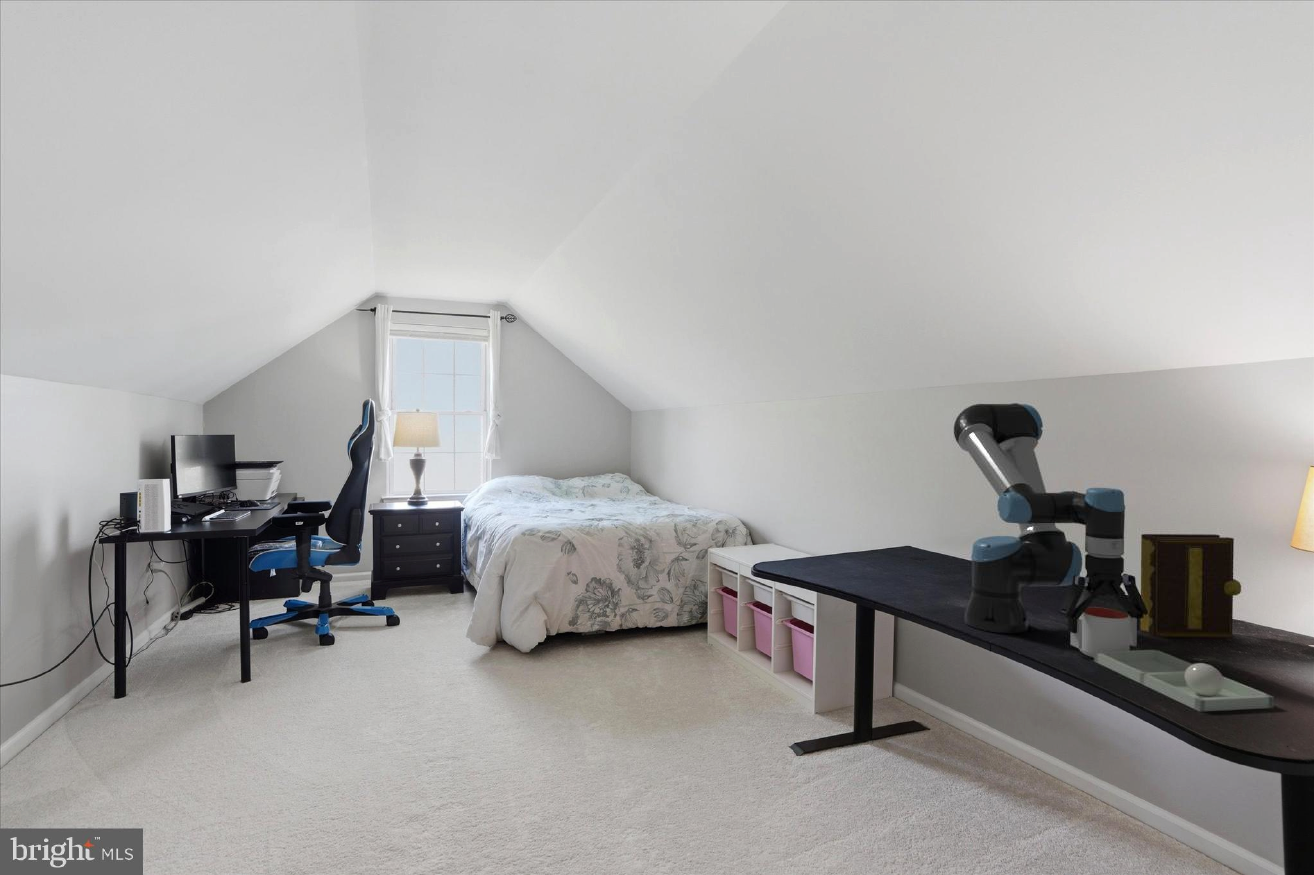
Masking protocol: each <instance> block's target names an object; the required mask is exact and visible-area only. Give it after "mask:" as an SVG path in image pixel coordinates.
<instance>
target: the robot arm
mask: <svg viewBox="0 0 1314 875" xmlns="http://www.w3.org/2000/svg"><path fill="white" fill-rule="evenodd" d="M1043 427H1044V426H1043V420H1042V417H1041V414H1040V413H1039V412H1038V410H1037V408H1036V407H1033V406H1032V405H1029V404H1027V403H1025V404H1024V403H1018V402H1015V403H977V404H973V405H970V406H968V407H966V408H964V409H963V410H962V411H961V412H960V413H959V414H958V416H957V417H956V419H955V421H954V425H953V435H954V436H953V437H954V439H955V441H956V443H957V444H958V446H959V448H961V450H963V451H965V452H968V454H969V456H970V457H971V458H972V459H973V461H974V463H975V465H977V467H978V468H979V469H980V471H981V473H982V474H983V475H984V477H985V478H986V479H987V481H988V483H989V484H990V486H991V487H992V488H993V490H994V491H995V493H996V495H997V496H998V497H999V498H998V499H997V512H998V515H999V518H1000V519H1001V520H1002V521H1003V522H1005V523H1009V524H1018V525H1019V530H1020V534H1019V535H1018V536H1017V537H1016V536H1012V535H994V536H987V537H986V536H985V537H982V538H979V539H977V540H975V541H974V542H973V543H972V551H971V596H970V599H969V601H968V603H967V606H966V609H965V611H964V623H965V624H966V625H968V626H969V627H972V628H974V629H975V628H976V629H978V630H982V631H985V632H993V633H1000V634H1017V633H1023V632H1026V631H1028V629H1029V620H1028V617H1027V614H1026V611H1025V608H1024V605H1023V602H1022V599H1021V598H1022V597H1021V590H1022V588H1021V587H1054V588H1057V587H1060V586H1061V587H1063V586H1064V587H1065V586H1067V587H1068V586H1071V587H1070V588H1069V590H1068V593H1067V594H1066V597H1065V599H1064V601H1063V603H1062V606H1061V608H1060V610H1059V614H1060V615H1062V616H1064V617H1066V618H1067V630H1068V632H1069V633H1070V646H1073V647H1075V648H1077V649H1079V648H1082V620H1080V619H1079V617H1080V616H1081V615H1082V614H1083V612H1084V611H1085V610H1086V609H1087V607H1090V605H1091V603H1092V602H1093V601H1094V600H1095V599H1097V598H1098V597H1099V596H1101V597H1104V596H1113V597H1114V598H1115V599H1116V601H1117V602H1118V603H1119V604H1120V605H1121V607H1122V608H1123V609H1124V610H1125V613H1126V614H1128V615H1129V616H1130V646H1132V647H1137V644H1138V642H1137V639H1138V638H1137V636H1138V635H1137V633H1138V631H1139V630H1140V619H1142V618H1143V617H1144V615H1147V614H1148V610H1147V608H1146V606H1145V604H1144V602H1143V599H1142V597H1141V592H1140V591H1139V589H1138V586H1137V582H1136V577H1135V575H1133V574H1132V575H1131V574H1128V573H1124V572H1125V559H1124V557H1123V555H1124V554H1125V521H1126V520H1125V518H1126V517H1125V516H1126V515H1125V512H1126V505H1125V493H1124V492H1123V490H1122V489H1119V488H1110V487H1089V488H1088V489H1086V491H1085V493H1083V492H1078V491H1074V490H1073V491H1068V490H1067V491H1066V490H1064V491H1060V492H1047V491H1046V487H1045V486H1046V485H1045V484H1044V481H1043V480H1044V479H1043V477H1042V473H1041V470H1040V467H1039V461H1038V459H1037V456H1036V452H1035V449H1036V447H1038V444H1039V440H1040V439H1041V437H1042V435H1043V429H1042V428H1043ZM1056 524H1079V525H1083V526H1085V533H1084V534H1085V535H1084V537H1085V538H1084V539H1085V540H1084V542H1085V543H1084V551H1085V553H1086V554H1085V555H1084V568H1085V571H1086V575H1085V576H1081V575H1080V574H1081V573H1082V569H1083V556H1082V552H1081V549H1080V547H1079V546H1078V545H1077V543H1075V542H1073V541H1070V540H1067V538H1066V535H1065V531H1063V530H1061V529H1059V528H1058V527H1057V526H1056ZM1121 586H1123V587H1124V589H1125V591H1124V590H1123V588H1122V587H1121ZM1126 594H1127V595H1126Z"/></svg>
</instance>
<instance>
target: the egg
mask: <svg viewBox="0 0 1314 875" xmlns="http://www.w3.org/2000/svg"><path fill="white" fill-rule="evenodd" d="M1192 664H1193V665H1190V666H1189V667H1188V668H1187V669H1186V671H1185V674H1184V678H1185V681H1186V683H1187V685H1188V686H1189V688H1190V689H1192V690H1193V691H1194V692H1196V693H1198V694H1201V695H1205V696H1212V695H1216V694H1218V693H1219V692H1221V690H1222V689H1223V687H1224V679H1223V677H1224V676H1223V675H1222V673H1221V672H1220V671H1219V670H1218V669H1217V668H1215V667H1214V666H1213V665H1211V664H1207V663H1204V662H1198V663H1197V662H1196V663H1192Z"/></svg>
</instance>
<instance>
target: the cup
mask: <svg viewBox="0 0 1314 875" xmlns="http://www.w3.org/2000/svg"><path fill="white" fill-rule="evenodd" d="M1079 619H1080V620H1082V648H1078V649H1079V651H1080V652H1081V653H1082V654H1084V655H1086V656H1087V657H1090V658H1093V659H1094V652H1110V651H1131V647H1130V646H1131V645H1130V615H1129V614H1128V613H1127V612H1124V611H1120V610H1118V609H1113V608H1108V607H1107V608H1106V607H1098V606H1097V607H1096V606H1088V607H1087V609H1086V610H1085V611H1084V612H1083V614H1082V615H1081V616H1080V617H1079Z"/></svg>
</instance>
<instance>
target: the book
mask: <svg viewBox="0 0 1314 875" xmlns="http://www.w3.org/2000/svg"><path fill="white" fill-rule="evenodd" d="M1234 541H1235V540H1234V538H1233V537H1223V536H1220V535H1219V534H1210V533H1209V534H1206V533H1205V534H1203V533H1202V534H1200V533H1199V534H1197V533H1196V534H1195V533H1194V534H1193V533H1192V534H1191V533H1186V534H1185V533H1184V534H1183V533H1174V534H1173V533H1172V534H1171V533H1165V534H1164V533H1144V534H1143V533H1142V534H1141V542H1140V543H1141V545H1140V546H1141V548H1140V549H1141V551H1140V556H1141V557H1140V595H1141V597H1142V599H1143V602H1144V604H1145V606H1146V608H1147V610H1148V614H1147V615H1144V617H1143V618H1142V619H1140V618H1139V630H1140V631H1141V632H1142V633H1145V634H1146V635H1150V636H1152V637H1163V638H1169V637H1170V638H1221V639H1222V638H1223V639H1224V638H1226V639H1227V638H1230V639H1231V638H1233V618H1234V617H1233V615H1234V613H1233V612H1234V611H1233V606H1234V602H1233V601H1234V596H1238V595H1240V594H1241V592H1242V585H1241V583H1240V581H1238V580H1237V579H1235V578H1234V554H1235V552H1234V548H1235V547H1234V546H1235V545H1234Z"/></svg>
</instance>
